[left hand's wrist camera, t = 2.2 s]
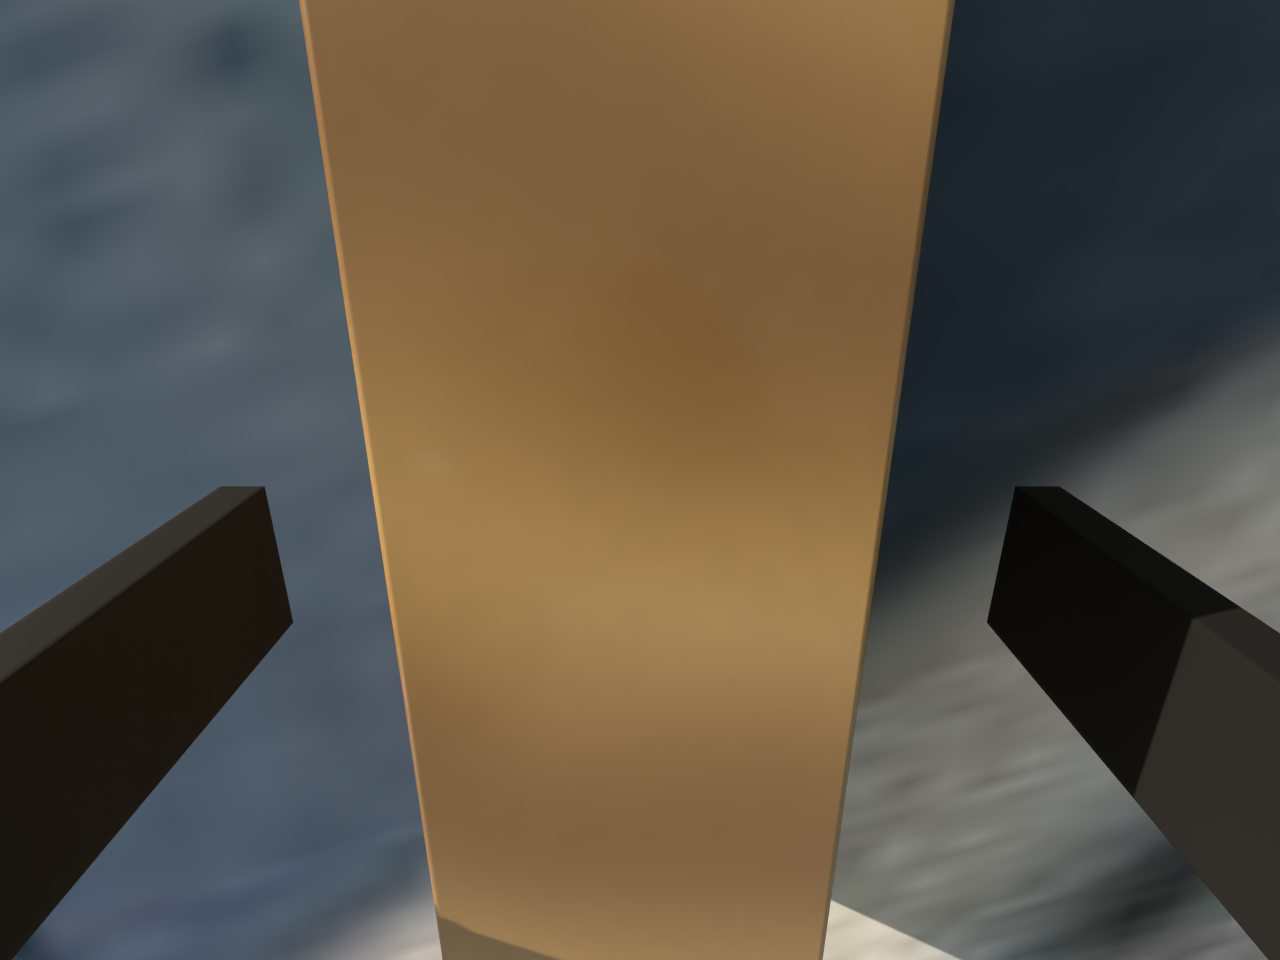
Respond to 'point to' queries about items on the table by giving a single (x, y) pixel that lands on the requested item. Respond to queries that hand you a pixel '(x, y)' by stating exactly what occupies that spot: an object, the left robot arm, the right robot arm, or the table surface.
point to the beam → (629, 437)
